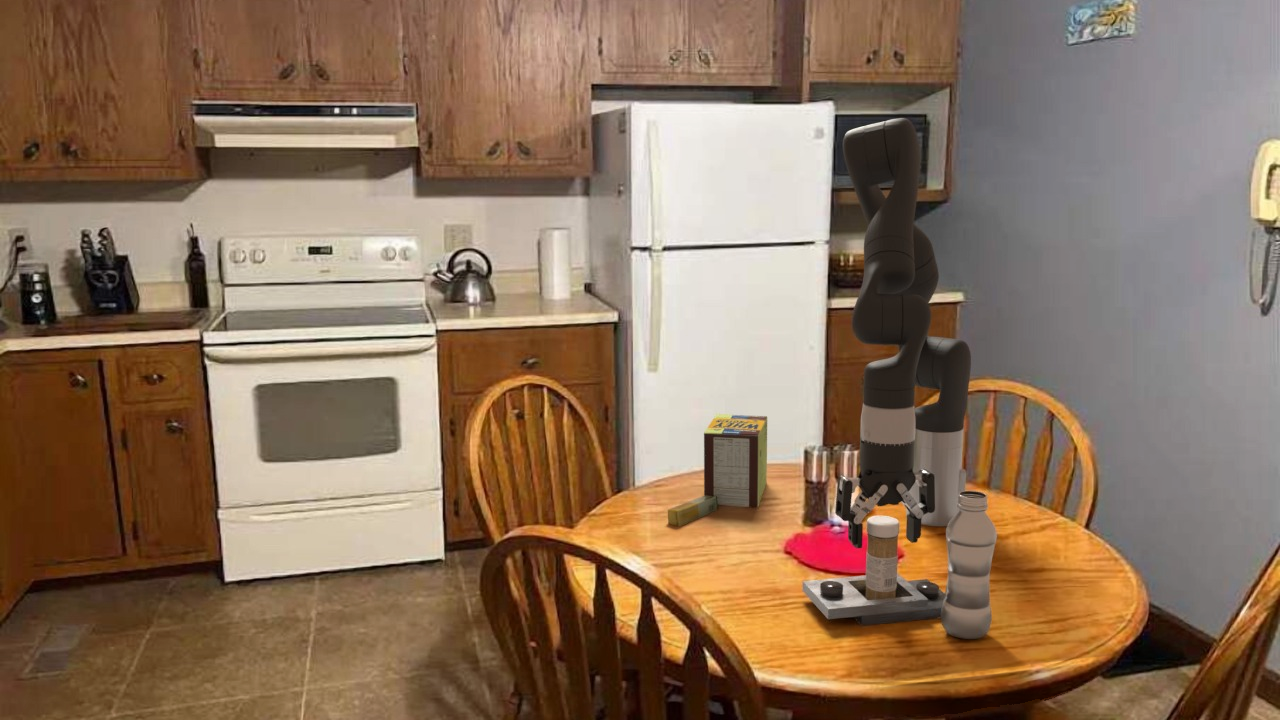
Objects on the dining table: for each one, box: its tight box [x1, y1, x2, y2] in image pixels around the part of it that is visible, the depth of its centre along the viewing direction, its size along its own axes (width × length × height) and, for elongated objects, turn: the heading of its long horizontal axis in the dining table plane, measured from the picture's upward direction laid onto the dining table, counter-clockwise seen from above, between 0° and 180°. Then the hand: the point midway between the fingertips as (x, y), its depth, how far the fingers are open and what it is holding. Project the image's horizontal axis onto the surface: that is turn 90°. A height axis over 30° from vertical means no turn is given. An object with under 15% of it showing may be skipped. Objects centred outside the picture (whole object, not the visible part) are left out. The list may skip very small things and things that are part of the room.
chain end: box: [852, 578, 945, 627], centre depth 146 cm, size 15×10×3 cm, turn 101°
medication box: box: [667, 495, 719, 527], centre depth 182 cm, size 12×3×4 cm, turn 140°
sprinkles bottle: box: [865, 515, 900, 600], centre depth 144 cm, size 5×5×13 cm
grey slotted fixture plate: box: [801, 572, 928, 620], centre depth 145 cm, size 15×10×3 cm, turn 101°
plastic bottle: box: [940, 490, 998, 640], centre depth 135 cm, size 6×7×20 cm
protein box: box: [703, 413, 768, 508], centre depth 193 cm, size 10×15×16 cm
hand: (884, 543), depth 144 cm, fingers open, 8 cm apart
